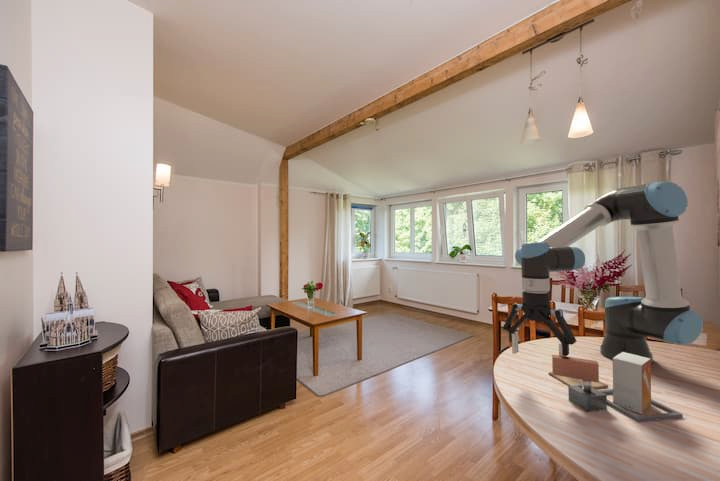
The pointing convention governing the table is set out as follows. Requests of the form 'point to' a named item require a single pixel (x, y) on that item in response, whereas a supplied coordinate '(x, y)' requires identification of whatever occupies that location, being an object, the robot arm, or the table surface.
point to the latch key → (576, 369)
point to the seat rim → (669, 415)
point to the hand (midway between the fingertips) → (537, 358)
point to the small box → (632, 382)
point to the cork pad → (577, 381)
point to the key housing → (587, 398)
